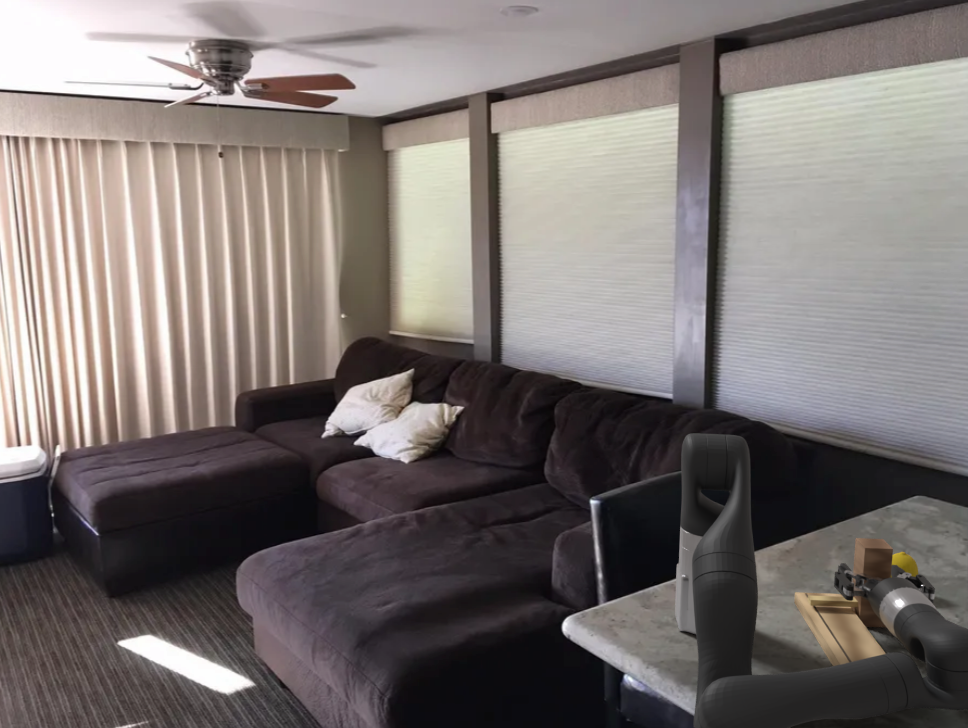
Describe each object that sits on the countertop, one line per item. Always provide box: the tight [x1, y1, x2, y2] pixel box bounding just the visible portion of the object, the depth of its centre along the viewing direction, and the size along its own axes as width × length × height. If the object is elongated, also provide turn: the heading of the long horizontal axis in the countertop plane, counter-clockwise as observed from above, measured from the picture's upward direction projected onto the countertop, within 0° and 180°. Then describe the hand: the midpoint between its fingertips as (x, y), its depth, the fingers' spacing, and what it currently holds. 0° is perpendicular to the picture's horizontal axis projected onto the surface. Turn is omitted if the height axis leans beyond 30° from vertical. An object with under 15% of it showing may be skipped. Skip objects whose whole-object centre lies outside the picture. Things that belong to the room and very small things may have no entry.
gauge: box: [808, 537, 894, 629], centre depth 142 cm, size 12×4×14 cm, turn 84°
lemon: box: [891, 551, 919, 577], centre depth 153 cm, size 6×6×8 cm
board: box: [794, 591, 887, 666], centre depth 136 cm, size 8×26×2 cm, turn 174°
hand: (867, 569), depth 143 cm, fingers open, 8 cm apart
